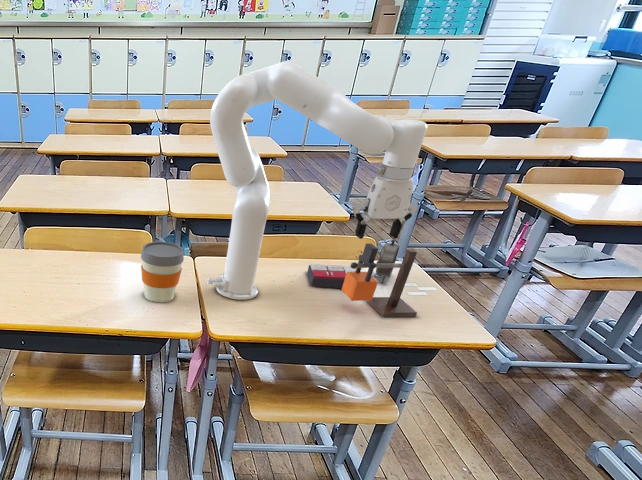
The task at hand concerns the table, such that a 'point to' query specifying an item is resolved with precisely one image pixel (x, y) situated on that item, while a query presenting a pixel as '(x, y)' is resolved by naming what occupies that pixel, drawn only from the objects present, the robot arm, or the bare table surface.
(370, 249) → the orange square box
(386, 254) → the alarm clock
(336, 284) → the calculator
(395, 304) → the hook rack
